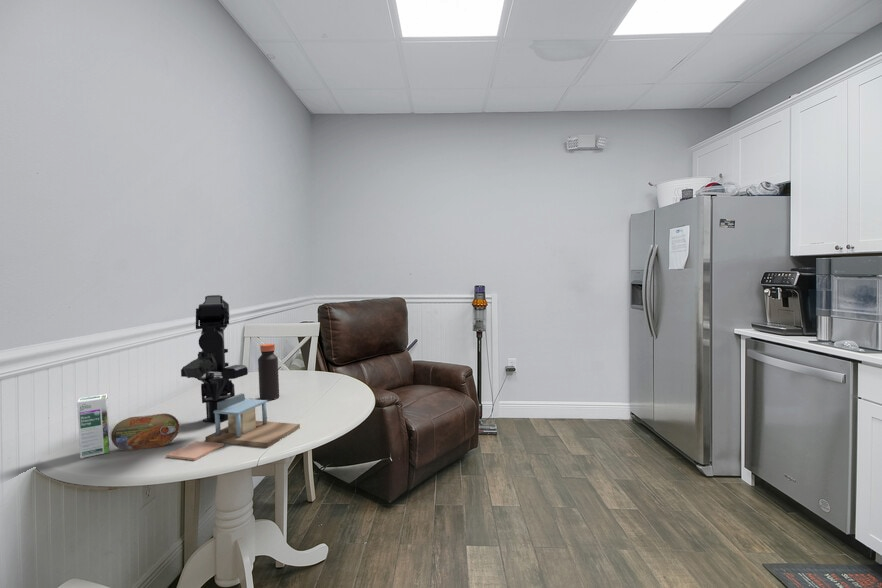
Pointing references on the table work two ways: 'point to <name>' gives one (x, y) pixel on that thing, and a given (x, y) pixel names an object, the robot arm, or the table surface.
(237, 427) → the light blue toy bench
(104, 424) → the syrup box
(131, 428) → the tin
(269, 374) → the bottle
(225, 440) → the puzzle board
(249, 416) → the maple block
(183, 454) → the terracotta tile
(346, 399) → the table surface
